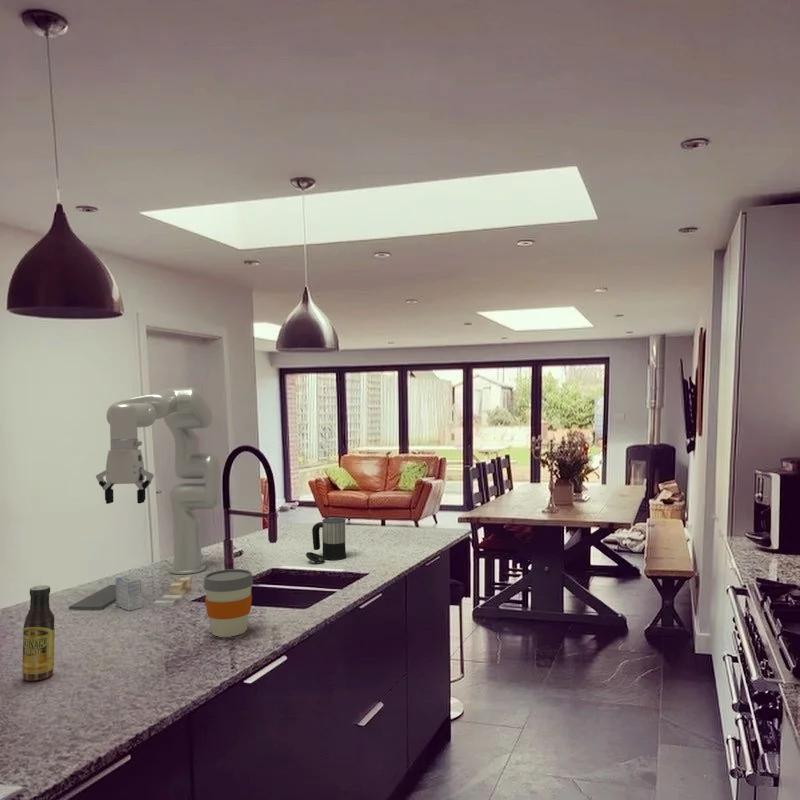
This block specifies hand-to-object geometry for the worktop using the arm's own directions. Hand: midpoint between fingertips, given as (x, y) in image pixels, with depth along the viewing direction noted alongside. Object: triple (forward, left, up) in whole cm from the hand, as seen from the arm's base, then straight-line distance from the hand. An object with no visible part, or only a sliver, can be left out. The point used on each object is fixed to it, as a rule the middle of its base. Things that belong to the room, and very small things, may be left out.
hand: (125, 502), depth 200 cm
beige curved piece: (-11, +10, -31) cm, 35 cm away
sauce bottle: (+50, +5, -31) cm, 59 cm away
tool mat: (-10, -12, -31) cm, 35 cm away
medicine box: (-1, 0, -32) cm, 32 cm away
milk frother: (-61, +48, -32) cm, 84 cm away
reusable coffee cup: (+20, +38, -31) cm, 53 cm away
